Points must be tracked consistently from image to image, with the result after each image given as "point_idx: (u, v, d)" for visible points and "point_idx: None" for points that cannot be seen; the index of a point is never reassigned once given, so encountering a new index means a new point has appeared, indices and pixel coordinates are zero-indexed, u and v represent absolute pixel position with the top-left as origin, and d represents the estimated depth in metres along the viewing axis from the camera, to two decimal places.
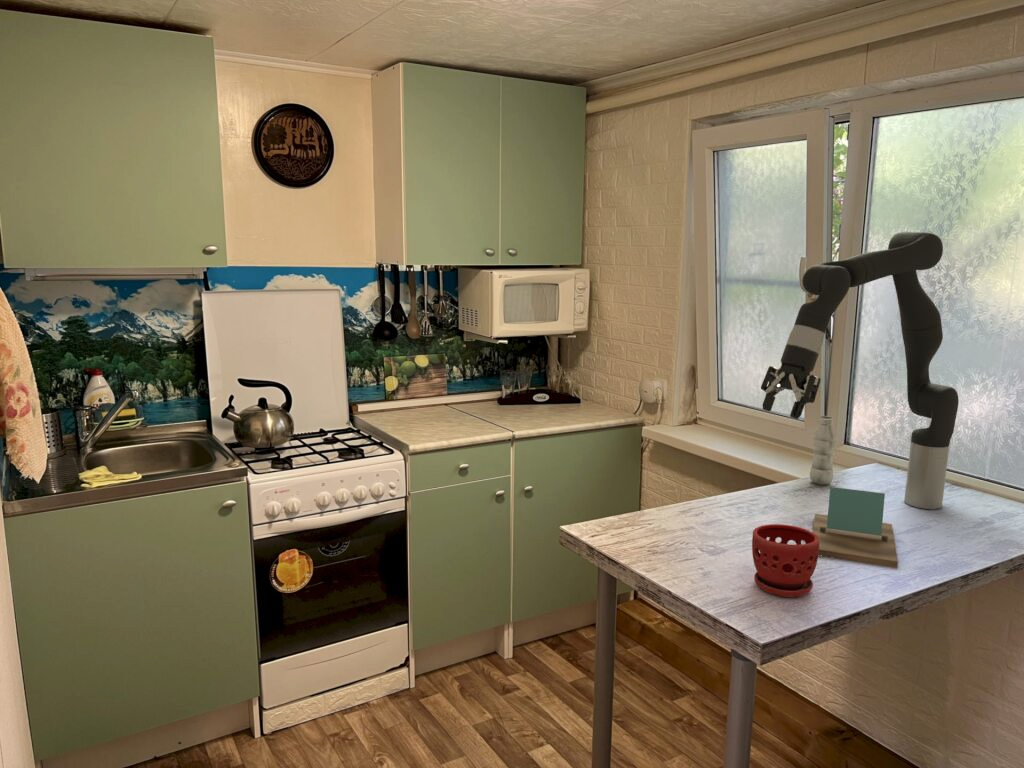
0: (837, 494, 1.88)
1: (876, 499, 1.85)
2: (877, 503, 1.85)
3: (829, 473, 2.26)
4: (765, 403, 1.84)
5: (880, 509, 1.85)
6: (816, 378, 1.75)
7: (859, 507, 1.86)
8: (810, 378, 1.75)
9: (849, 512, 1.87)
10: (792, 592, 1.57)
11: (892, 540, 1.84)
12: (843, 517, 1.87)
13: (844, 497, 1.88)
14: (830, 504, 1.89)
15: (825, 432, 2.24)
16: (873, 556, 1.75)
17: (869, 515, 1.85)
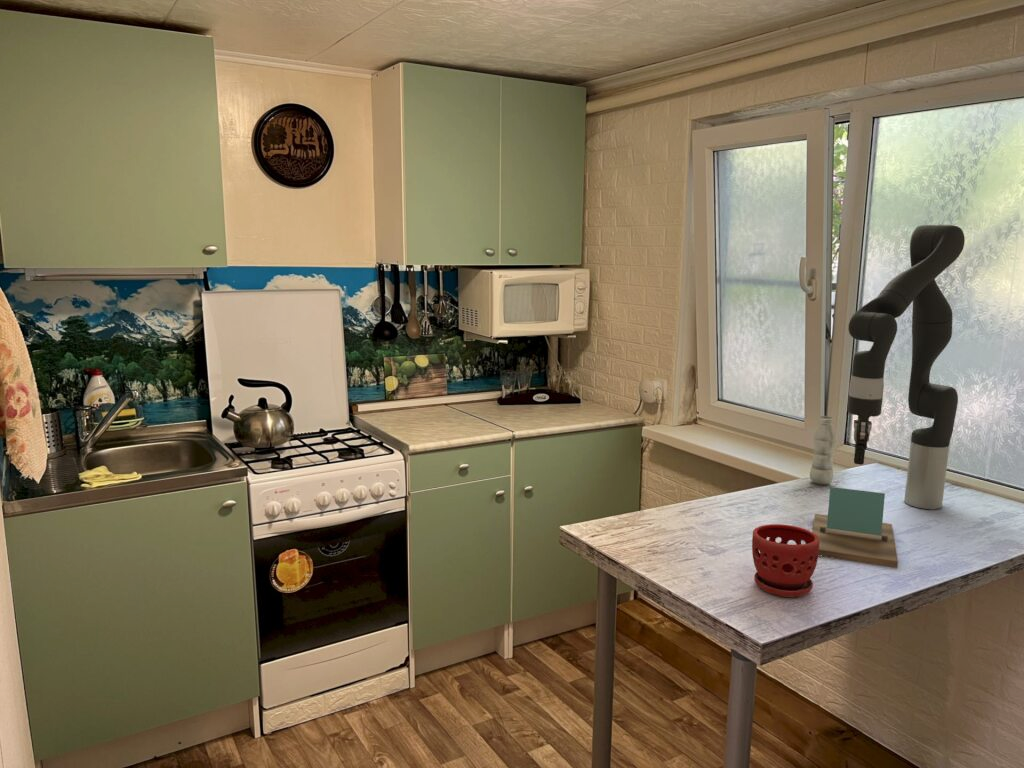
0: (837, 494, 1.88)
1: (876, 499, 1.85)
2: (877, 503, 1.85)
3: (829, 473, 2.26)
4: (854, 456, 1.92)
5: (880, 509, 1.85)
6: (861, 435, 1.85)
7: (859, 507, 1.86)
8: None
9: (849, 512, 1.87)
10: (792, 592, 1.57)
11: (892, 540, 1.84)
12: (843, 517, 1.87)
13: (844, 497, 1.88)
14: (830, 504, 1.89)
15: (825, 432, 2.24)
16: (873, 556, 1.75)
17: (869, 515, 1.85)
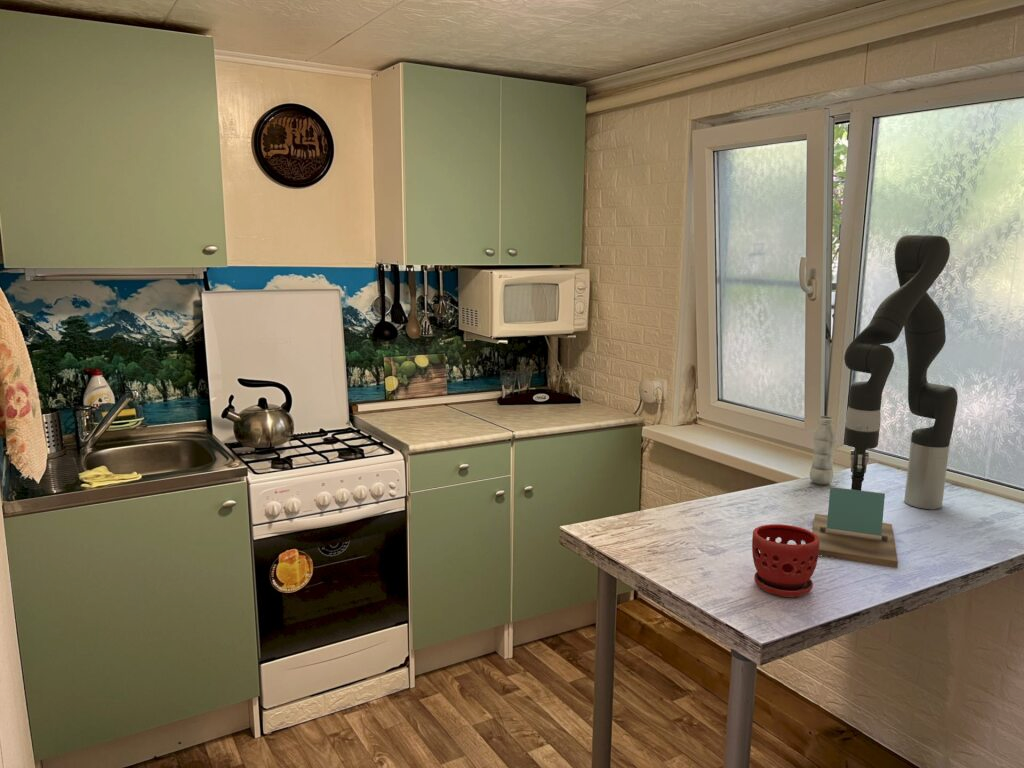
0: (837, 494, 1.88)
1: (876, 499, 1.85)
2: (877, 503, 1.85)
3: (829, 473, 2.26)
4: (851, 488, 1.90)
5: (880, 509, 1.84)
6: (858, 468, 1.82)
7: (859, 508, 1.86)
8: (853, 466, 1.83)
9: (849, 512, 1.87)
10: (792, 592, 1.57)
11: (892, 540, 1.84)
12: (843, 517, 1.87)
13: (844, 497, 1.87)
14: (830, 504, 1.89)
15: (825, 432, 2.24)
16: (873, 556, 1.75)
17: (869, 515, 1.85)
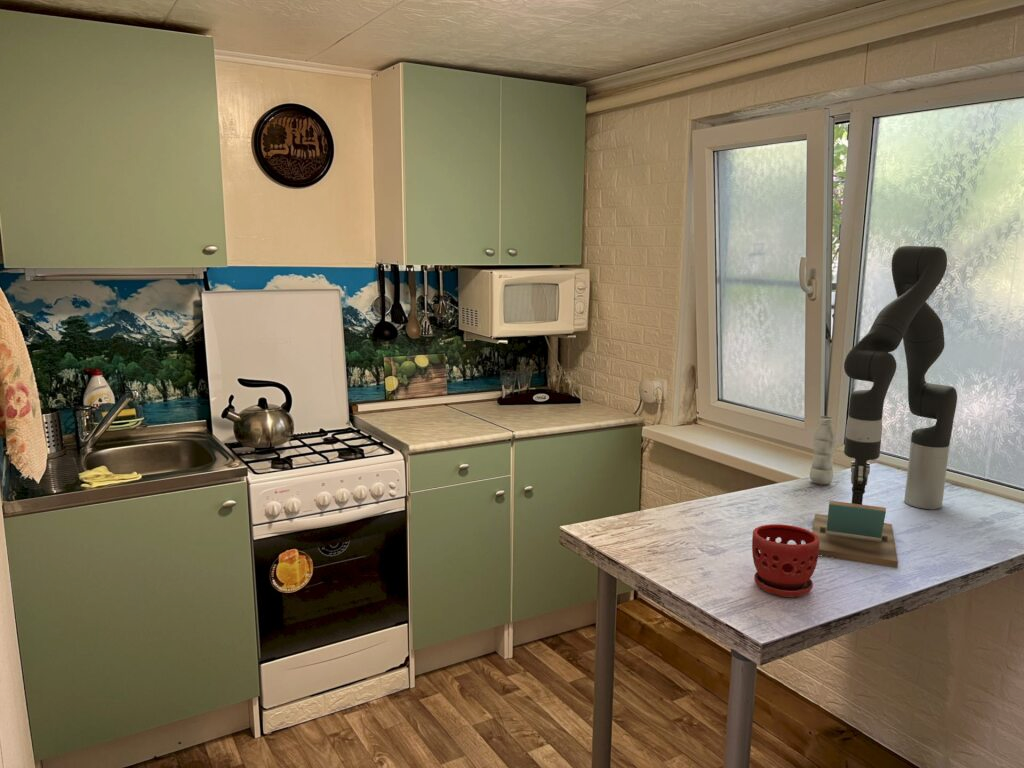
0: (836, 509, 1.82)
1: (876, 515, 1.79)
2: (877, 517, 1.80)
3: (829, 473, 2.26)
4: None
5: (880, 521, 1.80)
6: (859, 480, 1.75)
7: (859, 519, 1.82)
8: (854, 478, 1.76)
9: (849, 521, 1.84)
10: (792, 592, 1.57)
11: (892, 540, 1.84)
12: (843, 524, 1.85)
13: (843, 512, 1.82)
14: (829, 515, 1.85)
15: (825, 432, 2.24)
16: (873, 556, 1.75)
17: (869, 525, 1.82)
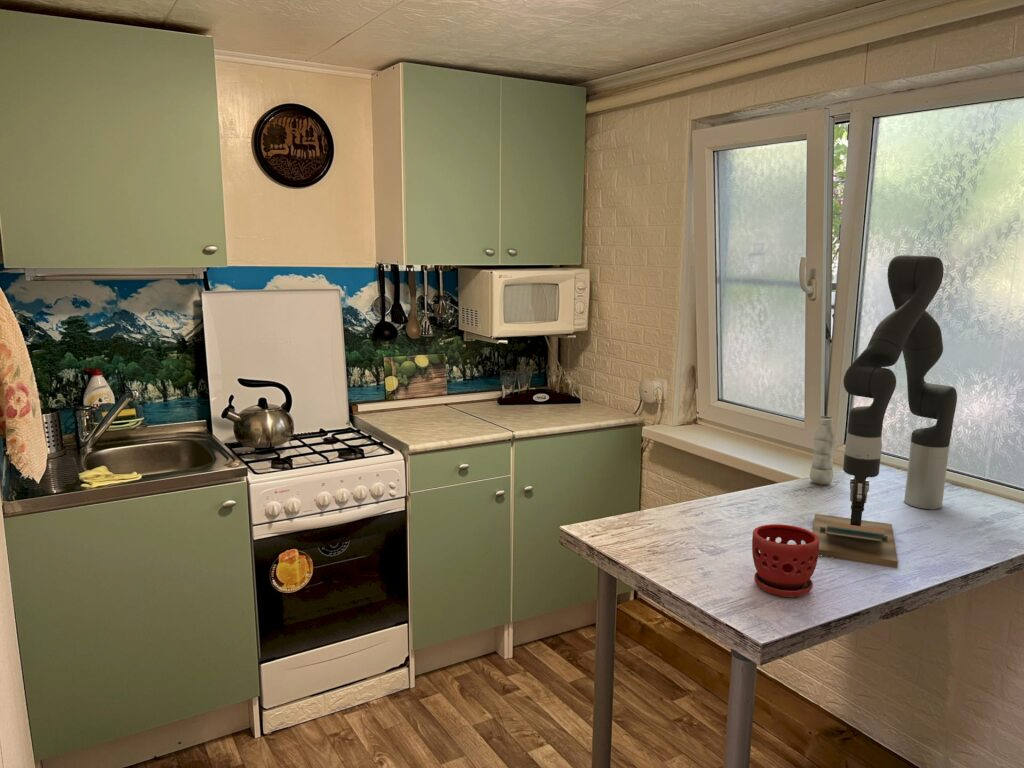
0: (835, 528, 1.80)
1: (875, 534, 1.77)
2: (876, 535, 1.78)
3: (829, 473, 2.26)
4: None
5: (880, 536, 1.79)
6: (858, 498, 1.73)
7: (858, 533, 1.81)
8: (853, 496, 1.74)
9: (848, 532, 1.83)
10: (792, 592, 1.57)
11: (892, 540, 1.84)
12: (842, 532, 1.85)
13: (842, 530, 1.80)
14: (828, 529, 1.83)
15: (825, 432, 2.24)
16: (873, 556, 1.75)
17: (868, 535, 1.81)
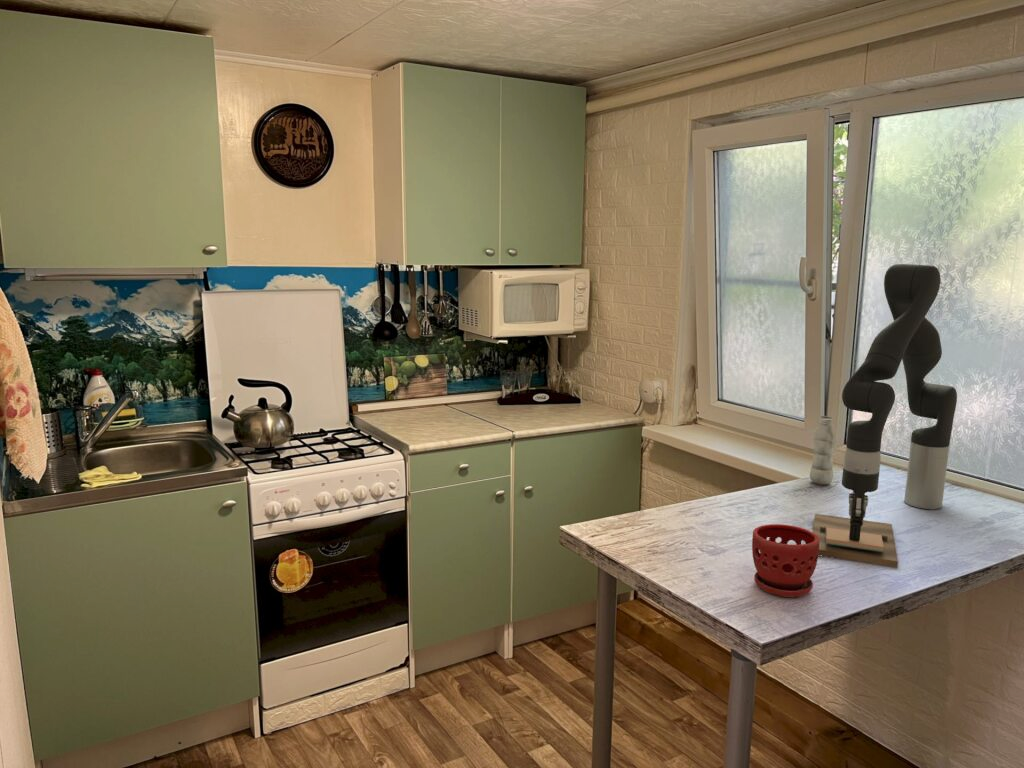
0: None
1: None
2: None
3: (829, 473, 2.26)
4: None
5: None
6: (857, 513, 1.72)
7: None
8: (852, 510, 1.73)
9: None
10: (792, 592, 1.57)
11: (892, 540, 1.84)
12: None
13: None
14: None
15: (825, 432, 2.24)
16: (873, 556, 1.75)
17: None
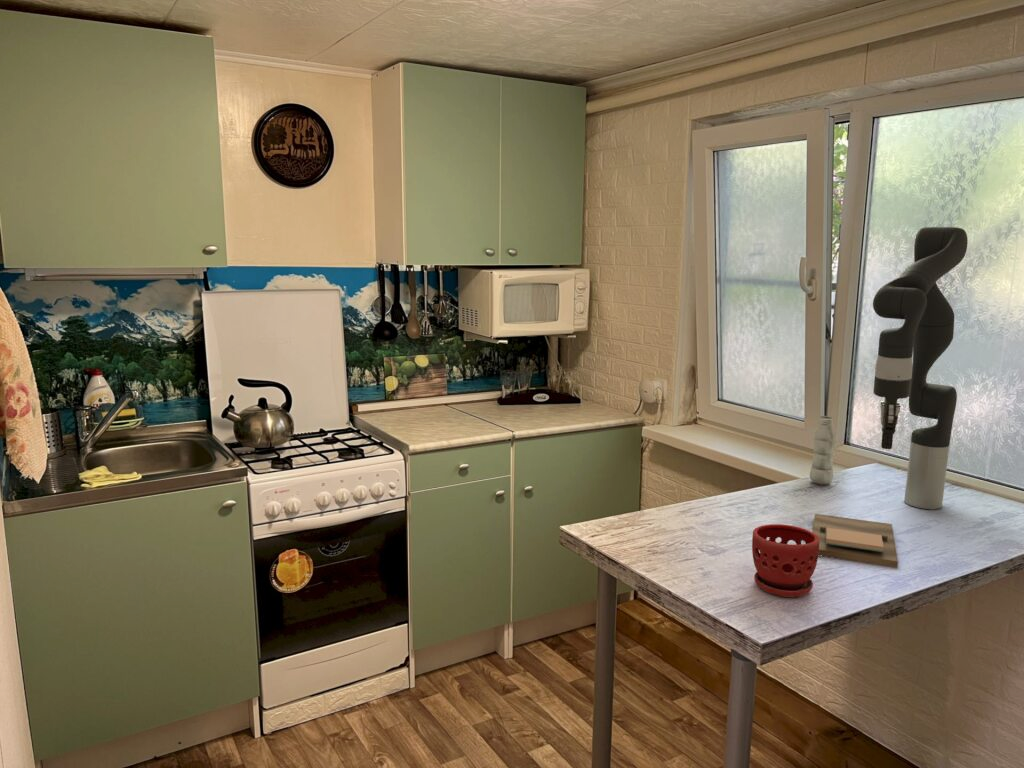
0: None
1: None
2: None
3: (829, 473, 2.26)
4: None
5: None
6: (889, 419, 1.74)
7: None
8: (884, 417, 1.75)
9: None
10: (792, 592, 1.57)
11: (892, 540, 1.84)
12: None
13: None
14: None
15: (825, 432, 2.24)
16: (873, 556, 1.75)
17: None
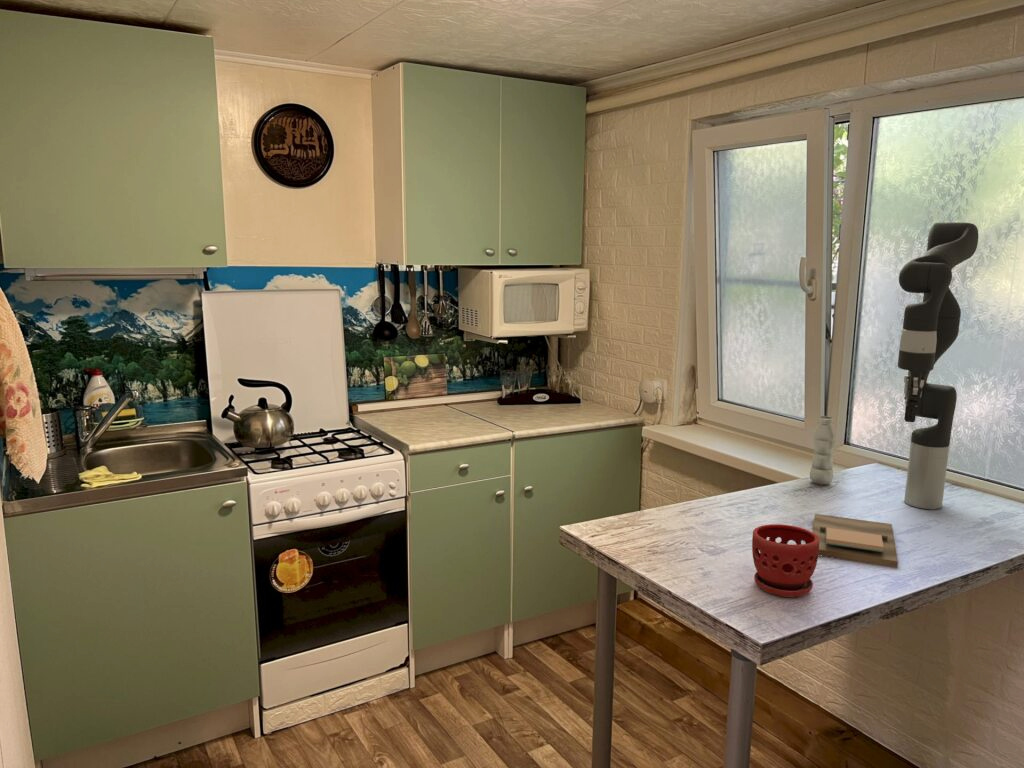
0: None
1: None
2: None
3: (829, 473, 2.26)
4: None
5: None
6: (914, 391, 1.78)
7: None
8: (909, 389, 1.79)
9: None
10: (792, 592, 1.57)
11: (892, 540, 1.84)
12: None
13: None
14: None
15: (825, 432, 2.24)
16: (873, 556, 1.75)
17: None
